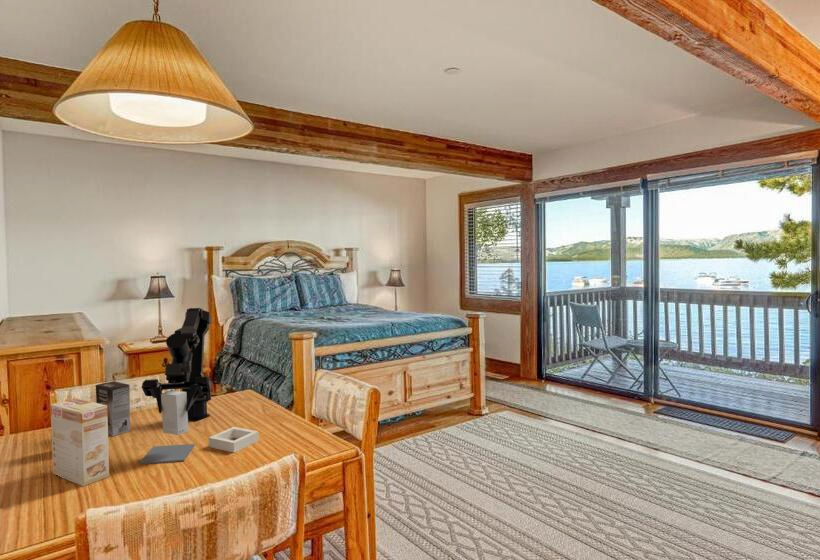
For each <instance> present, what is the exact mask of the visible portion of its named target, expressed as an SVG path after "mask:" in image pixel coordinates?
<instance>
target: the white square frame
mask: <svg viewBox="0 0 820 560" xmlns="http://www.w3.org/2000/svg"><path fill="white" fill-rule="evenodd" d="M233 439H235V440H233ZM259 440H260V439H259V431H257V430H251V429H247V428H242V427H238V426H237V427H236V426H233V427H230V428H228V429H225V430H223V431H221V432H218V433H216V434H213V435H211V436H209V437H208V447H209V448H211V449H215V450H221V451H225V452H229V453H234V454H235V453H237V452H238V451H240V450H243V449H245V448H247V447H248V446H252V445H253V444H255V443H257V442H259Z"/></svg>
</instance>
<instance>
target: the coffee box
mask: <svg viewBox="0 0 820 560" xmlns="http://www.w3.org/2000/svg"><path fill="white" fill-rule="evenodd" d="M130 391H131V389H130V384H128V383H123V382H119V381H115V380H114V381H108V382H102V383H98V384H96V385H95V401H96V402H95V403H99V404H103V405H107V416H108V436H110V437H116V436H118V435H122V434H124V433H127V432H131V393H130Z"/></svg>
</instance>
